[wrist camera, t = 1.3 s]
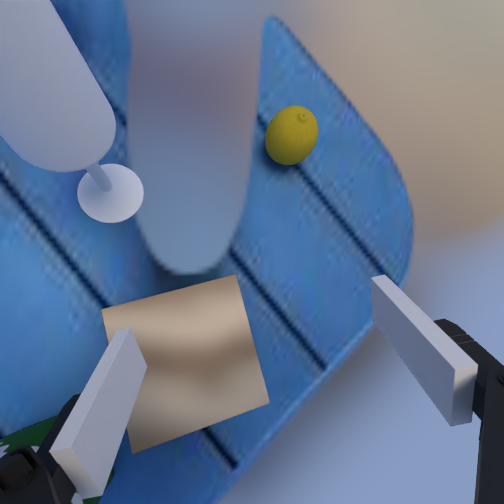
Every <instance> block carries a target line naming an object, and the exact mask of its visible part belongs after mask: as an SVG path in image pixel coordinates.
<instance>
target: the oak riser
mask: <svg viewBox="0 0 504 504" xmlns="http://www.w3.org/2000/svg"><path fill="white" fill-rule="evenodd" d="M102 315H103V319H104V324H105V329H106V333H107V338H108V343H110V342H111V340H112V338H113V336H114V334H115V333H116V331H117V330H121V329H126V328H131V330H132V332H133V335H134V337H135V339H136V341H137V344H138V346H139V348H140V351H141V353H142V355H143V358H144V360H145V362H146V364H147V369H146V372H145V375H144V377H143V380H142V383H141V386H140V389H139V392H138V395H137V398H136V400H135V403H134V406H133V409H132V412H131V415H130V418H129V421H128V423H127V426H126V427H127V431H128V436H129V441H130V445H131V450H132V454H135V453H137V452H140V451H143V450H145V449H148V448H151V447H153V446H156V445H159V444H161V443H164V442H167V441H169V440H172V439H175V438H178V437H180V436H183V435H186V434H188V433H191V432H194V431H196V430H199V429H202V428H204V427H207V426H210V425H212V424H215V423H218V422H220V421H223V420H226V419H228V418H231V417H234V416H237V415H239V414H242V413H245V412H247V411H250V410H253V409H255V408H258V407H261V406H263V405H266V404H269V403H270V401H269V397H268V393H267V390H266V386H265V382H264V378H263V375H262V371H261V367H260V363H259V360H258V356H257V352H256V348H255V345H254V341H253V337H252V333H251V330H250V326H249V322H248V319H247V315H246V311H245V307H244V304H243V300H242V296H241V292H240V289H239V285H238V281H237V277H236V274H235V275H231V276H228V277H224V278H220V279H216V280H212V281H209V282H205V283H201V284H197V285H193V286H189V287H186V288H182V289H178V290H174V291H170V292H167V293H163V294H159V295H155V296H151V297H147V298H144V299H140V300H136V301H132V302H128V303H125V304H121V305H117V306H113V307H109V308H105V309H102Z"/></svg>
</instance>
